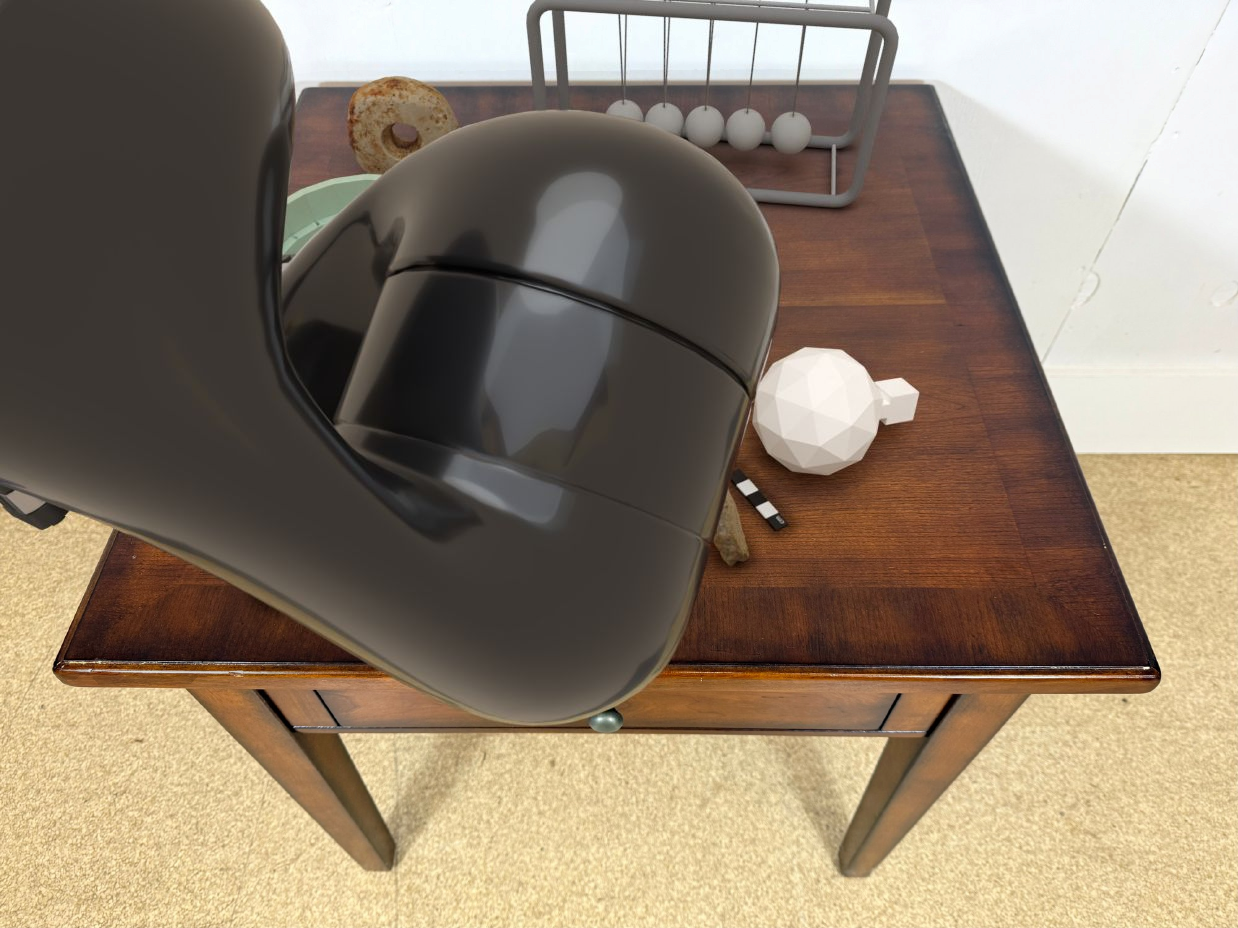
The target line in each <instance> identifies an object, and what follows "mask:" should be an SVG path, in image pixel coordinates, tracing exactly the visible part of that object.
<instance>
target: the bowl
mask: <svg viewBox="0 0 1238 928" xmlns="http://www.w3.org/2000/svg"><path fill="white" fill-rule="evenodd" d="M380 176H381V175H379V174H368V173H362V174H354V175H349V176H342V177H341V176H340V177H334V178H330V179H328V180H324V181H321V182H318V183H315V184H312V185H309V186H306V187H303V188H301V189H299V190H297V191H295V192H293V193H292V194H290V195H288V198H287V209H286V219H285V230H284V240H283V251H282V255H288V254H296V253H298V251H299V250H300V249H301V248H302V247H303V246H304V244H305V243H306V242H307V241H308V240H309V239H310V238H311V237H312V236H313V235H314V234H315V233H316V232H317V231H319V230H320V229H321V228H322V227H323V226H324V225H326V224H327V223H328V222H329V221H330V220H331V219H332V218H333V217H335V216H336V215H337V214H338V213H339V212H340V211H341V210H343V209H344V208H345V207H346V206H347V205H348V204H349V203H350V202H352V201H353V200H354V199H355V198H356V197H357V196H358V195H359V194H361V193H362V192H363V191H364V190H365V189H366V188H367V187H368V186H370V185H371V184H372V183H373V182H374V181H376V180H377V179H378V178H379V177H380Z"/></svg>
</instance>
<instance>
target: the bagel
mask: <svg viewBox="0 0 1238 928" xmlns="http://www.w3.org/2000/svg"><path fill="white" fill-rule="evenodd" d="M346 112H347V113H346V116H347V120H346V122H347V127H346V128H347V135H348V145H349V146H350V147H351V150H352V153H353V155H354V158H355V160H356V162H357V164H358V165H359V166H360V168H361V169H362V170H364V172H365V173H366V174H379V175H383V174H384V173H385V172H386V171H388V170H389V169H390V168H392V167H393V166H394V165H396V164H397V163H398V162H400V161H401V160H402V159H404V158H405V157H407V156H408V155H410V154H412V153H414V152H415V151H417V150H419V149H421V148H422V147H424V146H426V145H428V144H429V143H431V142H433V141H435V140H437V139H438V138H440V137H442V136H444V135H446V134H448V133H449V132H452V131H454V130H457V129H460V128H461V126H460V124H459V121H458V120H457V118H456V116H455V113H454V111H453V109H452V107H451V105H450V104H449V102H448V100H447V99H446V98H445V97H444V95H443V94H442V93H440V91H439V90H438V89H436V88H434V87H433V86H431V85H430V84H428V83H426V82H423V81H421V80H418V79H415V78H411V77H409V76H401V75H400V76H399V75H393V76H385V77H380V78H379V79H374V80H372V81H370V82H368V83H365V84H364V85H362V86H360V87H359V88H358V89H356V91H355V92H354V93H353V95H352V96H351V98H350V101H349V103H348V106H347V111H346ZM396 124H403V125H407V126H410V127H411V128H412V129H414V130H415V132H416V137H415V138H414V139H412V140H405V139H402V138H400V137H399V136H397V135H396V134H395V132H394V130H393V127H394V126H395V125H396Z"/></svg>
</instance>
